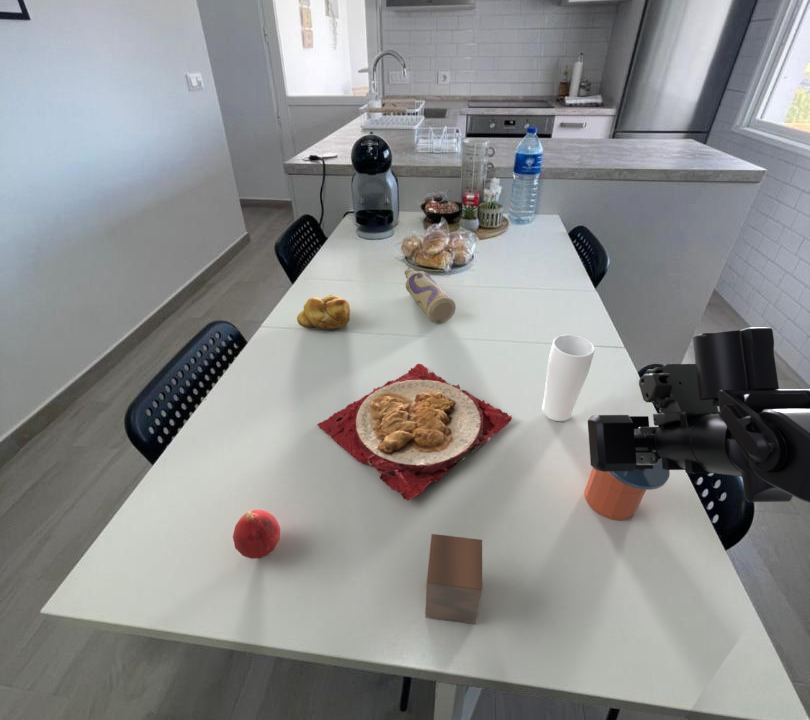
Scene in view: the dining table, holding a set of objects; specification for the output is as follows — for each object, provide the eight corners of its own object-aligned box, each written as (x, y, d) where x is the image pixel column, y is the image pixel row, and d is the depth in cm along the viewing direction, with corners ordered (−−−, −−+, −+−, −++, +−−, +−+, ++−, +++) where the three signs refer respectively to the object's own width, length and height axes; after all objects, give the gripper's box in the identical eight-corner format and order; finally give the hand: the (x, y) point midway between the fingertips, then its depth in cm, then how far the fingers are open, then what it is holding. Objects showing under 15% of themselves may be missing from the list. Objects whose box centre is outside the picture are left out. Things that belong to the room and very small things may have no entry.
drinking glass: (579, 408, 83) (599, 341, 74) (569, 430, 78) (589, 361, 70) (543, 396, 86) (559, 330, 77) (532, 416, 81) (546, 348, 73)
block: (476, 575, 57) (482, 539, 53) (475, 624, 52) (482, 589, 48) (429, 569, 58) (431, 533, 53) (425, 617, 53) (426, 582, 48)
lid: (681, 472, 58) (697, 440, 55) (644, 500, 55) (659, 468, 51) (626, 435, 64) (638, 404, 60) (590, 458, 60) (600, 427, 57)
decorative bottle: (456, 321, 109) (458, 296, 105) (427, 326, 107) (428, 302, 103) (421, 277, 129) (421, 256, 125) (396, 281, 127) (395, 259, 123)
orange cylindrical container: (645, 503, 66) (663, 467, 61) (617, 529, 63) (634, 492, 58) (602, 472, 71) (616, 436, 66) (574, 495, 67) (586, 458, 63)
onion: (291, 536, 62) (282, 500, 57) (270, 575, 57) (258, 539, 53) (254, 526, 63) (242, 490, 59) (231, 564, 59) (216, 528, 54)
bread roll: (295, 334, 105) (290, 304, 100) (302, 314, 112) (297, 285, 108) (350, 333, 105) (347, 303, 100) (353, 313, 113) (351, 284, 108)
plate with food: (512, 425, 80) (515, 410, 78) (408, 506, 65) (408, 490, 63) (419, 369, 94) (419, 355, 92) (316, 425, 80) (314, 410, 78)
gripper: (804, 360, 44) (701, 379, 60) (616, 362, 44) (562, 380, 60) (822, 476, 43) (711, 464, 58) (626, 477, 43) (567, 465, 58)
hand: (637, 441), depth 58 cm, fingers closed on lid, 2 cm apart
